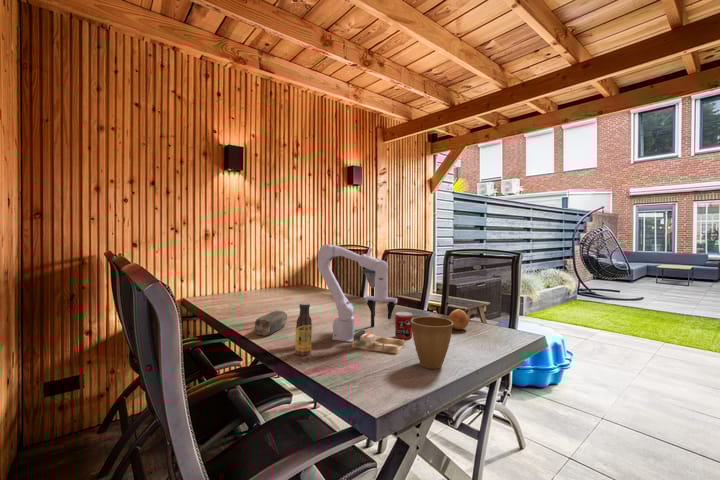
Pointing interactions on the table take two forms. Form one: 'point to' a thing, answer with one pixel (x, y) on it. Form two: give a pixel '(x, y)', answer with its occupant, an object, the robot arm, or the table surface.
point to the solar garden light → (371, 280)
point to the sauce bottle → (303, 331)
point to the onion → (459, 319)
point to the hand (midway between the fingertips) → (381, 317)
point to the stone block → (270, 323)
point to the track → (378, 343)
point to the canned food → (403, 325)
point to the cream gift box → (368, 338)
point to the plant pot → (431, 340)
